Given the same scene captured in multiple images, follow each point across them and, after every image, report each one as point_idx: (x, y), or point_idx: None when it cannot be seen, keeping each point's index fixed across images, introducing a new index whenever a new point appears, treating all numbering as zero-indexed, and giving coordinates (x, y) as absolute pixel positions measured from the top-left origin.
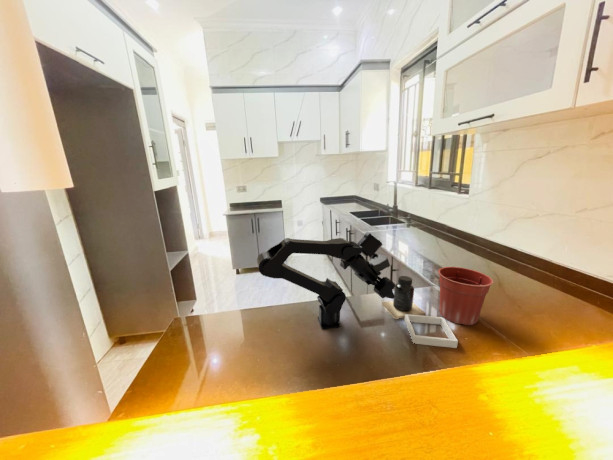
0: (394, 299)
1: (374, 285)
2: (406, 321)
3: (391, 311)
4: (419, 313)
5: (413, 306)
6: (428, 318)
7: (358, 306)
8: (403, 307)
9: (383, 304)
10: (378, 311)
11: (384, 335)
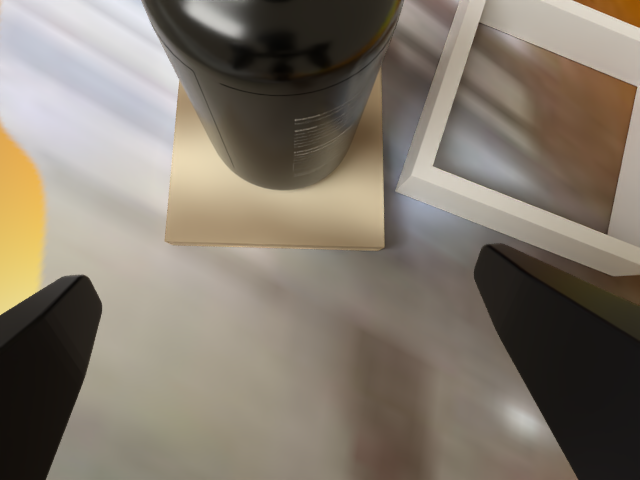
0: (268, 165)
1: (71, 405)
2: (459, 204)
3: (318, 238)
4: None
5: None
6: (466, 51)
7: (142, 464)
8: (350, 142)
9: (193, 242)
10: (258, 319)
11: (534, 413)
